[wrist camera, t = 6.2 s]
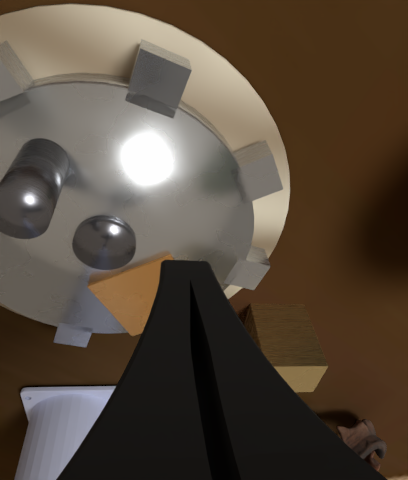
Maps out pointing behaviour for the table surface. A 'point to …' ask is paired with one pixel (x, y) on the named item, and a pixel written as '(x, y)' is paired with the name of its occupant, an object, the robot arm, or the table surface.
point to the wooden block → (288, 343)
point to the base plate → (121, 64)
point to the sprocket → (117, 193)
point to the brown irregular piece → (364, 441)
